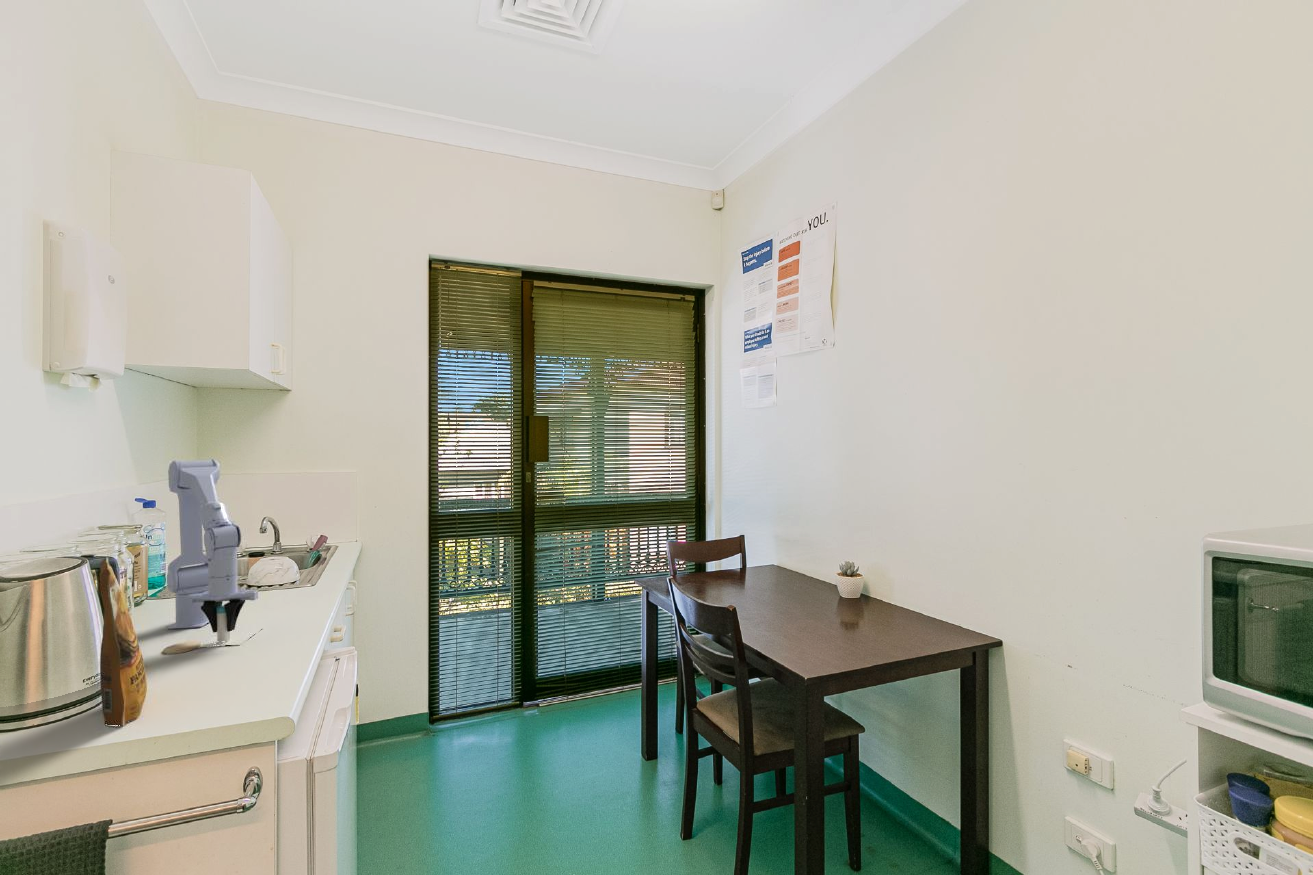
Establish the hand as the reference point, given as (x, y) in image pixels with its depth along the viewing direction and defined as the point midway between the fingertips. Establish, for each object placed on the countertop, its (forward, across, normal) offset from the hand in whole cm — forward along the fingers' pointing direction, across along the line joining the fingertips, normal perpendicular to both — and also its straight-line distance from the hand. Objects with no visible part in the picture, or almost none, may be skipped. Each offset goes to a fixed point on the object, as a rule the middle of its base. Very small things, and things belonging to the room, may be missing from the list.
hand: (223, 630), depth 145 cm
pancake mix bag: (+3, +1, -37) cm, 37 cm away
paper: (+3, 0, +2) cm, 4 cm away
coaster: (+3, -7, -3) cm, 8 cm away
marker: (+2, 0, 0) cm, 2 cm away
